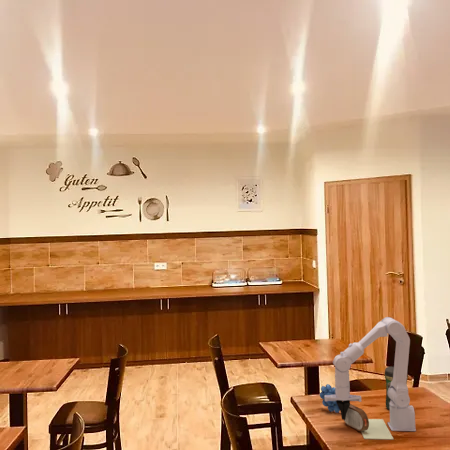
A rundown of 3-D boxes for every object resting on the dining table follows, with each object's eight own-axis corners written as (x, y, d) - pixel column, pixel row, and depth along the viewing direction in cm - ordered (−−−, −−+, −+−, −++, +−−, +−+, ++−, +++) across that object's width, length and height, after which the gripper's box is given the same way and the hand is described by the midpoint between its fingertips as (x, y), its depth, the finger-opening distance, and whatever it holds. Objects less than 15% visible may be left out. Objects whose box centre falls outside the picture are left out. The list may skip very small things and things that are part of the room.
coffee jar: (412, 409, 218) (410, 368, 219) (402, 414, 213) (401, 371, 214) (392, 404, 226) (391, 364, 226) (382, 408, 221) (381, 367, 221)
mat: (382, 419, 208) (382, 419, 208) (393, 439, 188) (393, 438, 188) (356, 419, 209) (356, 418, 209) (364, 439, 189) (364, 438, 189)
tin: (369, 433, 193) (369, 411, 193) (363, 434, 192) (362, 412, 192) (347, 421, 207) (346, 401, 207) (340, 422, 206) (340, 402, 206)
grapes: (315, 411, 220) (314, 384, 220) (323, 407, 224) (322, 381, 225) (337, 417, 212) (336, 389, 212) (345, 413, 216) (345, 386, 217)
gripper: (359, 382, 203) (360, 415, 203) (323, 382, 205) (324, 415, 205) (361, 387, 196) (362, 421, 196) (325, 387, 198) (326, 421, 198)
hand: (343, 418), depth 200 cm, fingers closed
